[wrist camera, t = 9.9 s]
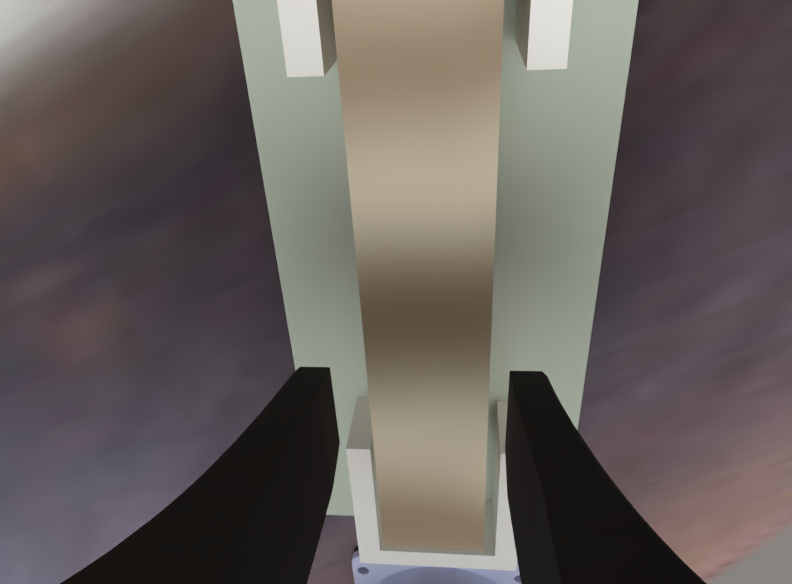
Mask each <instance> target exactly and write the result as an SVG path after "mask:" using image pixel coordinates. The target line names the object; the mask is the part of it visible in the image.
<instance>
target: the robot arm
mask: <svg viewBox="0 0 792 584" xmlns="http://www.w3.org/2000/svg"><path fill="white" fill-rule="evenodd" d="M339 445H340V440H339V432H338V425H337V417H336V410H335V402H334V395H333V387H332V380H331V372H330V367H299V368H298V369H297V370H296V371H295V372H294V373H293V374H292V375H291V377H290V378H289V379H288V380H287V382H286V383H285V384H284V385H283V387H282V388H281V389H280V390H279V391H278V393H277V394H276V395H275V396H274V398H273V399H272V400H271V401H270V402H269V404H268V405H267V406H266V407H265V408H264V409H263V411H262V412H261V413H260V414H259V415H258V416H257V418H256V419H255V420H254V421H253V422H252V423H251V424H250V425H249V427H248V428H247V429H246V430H245V431H244V432H243V433H242V434H241V436H240V437H239V438H238V439H237V440H236V441H235V442H234V443H233V444H232V445H231V446H230V447H229V448H228V449H227V450H226V451H225V452H224V453H223V454H222V455H221V457H220V458H219V459H218V460H217V461H216V462H215V463H214V464H213V465H212V466H211V467H210V468H209V469H208V470H207V471H206V472H205V473H204V474H203V475H202V476H201V477H199V478H198V479H197V480H196V481H195V482H194V483H193V484H192V485H191V486H190V487H189V488H188V489H187V490H185V491H184V492H183V493H182V494H181V495H180V496H179V497H178V498H176V499H175V500H174V501H173V502H172V503H171V504H169V505H168V506H167V507H166V508H165V509H164V510H162V511H161V512H160V513H159V514H158V515H156V516H155V517H154V518H152V519H151V520H150V521H149V522H147V523H146V524H145V525H143V526H142V527H141V528H139V529H138V530H137V531H136V532H134V533H133V534H132V535H130V536H129V537H128V538H126V539H125V540H124V541H122V542H121V543H120V544H118V545H117V546H116V547H114V548H113V549H112V550H110V551H109V552H107V553H106V554H104V555H103V556H102V557H100V558H99V559H97V560H96V561H94V562H93V563H91V564H90V565H88V566H87V567H85V568H84V569H82V570H81V571H79V572H78V573H76V574H75V575H73V576H71V577H70V578H68V579H67V580H65V581H64V582H62V583H60V584H307V581H308V577H309V574H310V570H311V567H312V563H313V559H314V556H315V552H316V549H317V545H318V542H319V538H320V534H321V531H322V527H323V524H324V520H325V516H326V513H327V509H328V505H329V502H330V498H331V494H332V490H333V485H334V478H335V472H336V466H337V459H338V452H339ZM505 458H506V479H507V497H508V503H509V510H510V516H511V523H512V529H513V535H514V542H515V548H516V554H517V568H516V571H509V570H489V569H470V568H450V567H430V566H411V565H391V564H372V563H360V557H359V550H358V551H355V552H354V553H353V557H352V569H353V576H354V584H706V583H705V582H704V581H703V580H702V579H701V578H700V577H699V576H698V575H697V574H696V573H694V572H693V571H692V570H691V569H690V568H689V567H688V566H687V565H686V564H685V563H684V562H683V561H682V560H681V559H680V558H679V557H678V556H677V555H676V554H675V553H674V552H673V551H672V549H671V548H670V547H669V546H668V545H667V544H666V543H665V542H664V541H663V540H662V539H661V538H660V537H659V536H658V535H657V534H656V532H655V531H654V530H653V529H652V528H651V527H650V526H649V525H648V523H647V522H646V521H645V520H644V519H643V518H642V517H641V516H640V514H639V513H638V512H637V511H636V510H635V508H634V507H633V506H632V505H631V504H630V502H629V501H628V500H627V499H626V497H625V496H624V495H623V494H622V492H621V491H620V490H619V489H618V487H617V486H616V485H615V483H614V482H613V481H612V479H611V478H610V477H609V476H608V474H607V473H606V472H605V470H604V469H603V467H602V466H601V465H600V463H599V462H598V460H597V459H596V458H595V456H594V455H593V453H592V452H591V450H590V449H589V447H588V446H587V444H586V443H585V441H584V440H583V438H582V437H581V435H580V434H579V432H578V431H577V429H576V428H575V426H574V424H573V423H572V421H571V419H570V418H569V416H568V414H567V413H566V411H565V409H564V408H563V406H562V404H561V402H560V400H559V399H558V397H557V395H556V393H555V391H554V389H553V387H552V385H551V383H550V381H549V379H548V377H547V375H546V374H544V373H543V372H542V371H510V373H509V390H508V407H507V423H506V440H505Z"/></svg>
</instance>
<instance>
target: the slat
mask: <svg viewBox="0 0 792 584" xmlns="http://www.w3.org/2000/svg"><path fill="white" fill-rule="evenodd" d="M332 9H333V20H334V30H335V41H336V51H337V62H338V73H339V83H340V94H341V105H342V115H343V126H344V136H345V147H346V158H347V168H348V179H349V190H350V200H351V211H352V221H353V232H354V243H355V253H356V264H357V275H358V285H359V296H360V306H361V317H362V328H363V338H364V349H365V360H366V370H367V381H368V392H369V402H370V413H371V423H372V434H373V445H374V455H375V466H376V477H377V487H378V498H379V508H380V519H381V530H382V540H383V546H393V547H414V548H435V549H456V550H477V551H483V537H484V511H485V485H486V459H487V433H488V407H489V381H490V355H491V329H492V303H493V277H494V251H495V225H496V199H497V172H498V146H499V120H500V94H501V68H502V42H503V16H504V0H332Z"/></svg>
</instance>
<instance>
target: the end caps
mask: <svg viewBox="0 0 792 584" xmlns="http://www.w3.org/2000/svg"><path fill="white" fill-rule="evenodd" d="M277 6H278V13H279V21H280V28H281V35H282V43H283V50H284V57H285V65H286V72H287V77H312V76H325V75H326V73H327V72H328V71H329V70H330V68H331V67H332V66H333V65H334V63H335V62H336V61H337V51H336V41H335V30H334V20H333V9H332V0H277ZM572 7H573V0H516V18H515V41H516V44H517V46H518V49H519V52H520V54H521V57H522V59H523V62H524V64H525V67H526V70H548V69H567V61H568V51H569V40H570V29H571V18H572ZM507 407H508V401H497V412H496V432H495V453H494V474H493V494H492V500H485V511H484V537H483V551H477V550H456V549H435V548H414V547H393V546H383V540H382V530H381V519H380V508H379V498H378V487H377V477H376V466H375V455H374V445H373V434H372V423H371V413H370V402H369V398H359V397H357V399H356V404H355V408H354V413H353V418H352V422H351V427H350V432H349V436H348V441H347V446H346V454H347V461H348V469H349V477H350V485H351V493H352V501H353V509H354V517H355V525H356V533H357V541H358V549H359V557H360V563H372V564H391V565H411V566H430V567H450V568H470V569H489V570H509V571H516V568H517V554H516V548H515V542H514V535H513V529H512V523H511V516H510V510H509V503H508V497H507V479H506V458H505V440H506V423H507Z"/></svg>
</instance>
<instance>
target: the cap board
mask: <svg viewBox="0 0 792 584" xmlns="http://www.w3.org/2000/svg"><path fill="white" fill-rule="evenodd" d="M638 1H639V0H573V7H572V18H571V29H570V40H569V51H568V61H567V69H548V70H526V67H525V64H524V62H523V59H522V57H521V54H520V52H519V49H518V46H517V44H516V41H515V18H516V0H504V16H503V42H502V68H501V94H500V120H499V146H498V172H497V199H496V225H495V251H494V277H493V303H492V329H491V355H490V381H489V407H488V433H487V459H486V485H485V500H492V494H493V474H494V453H495V432H496V412H497V401H508V390H509V373H510V371H542V372H543V373H544V374H546V375H547V377H548V379H549V381H550V383H551V385H552V387H553V389H554V391H555V393H556V395H557V397H558V399H559V400H560V402H561V404H562V406H563V408H564V409H565V411H566V413H567V414H568V416H569V418H570V419H571V421H572V423H573V424H574V426H575V428H576V429H577V430H578V423H579V416H580V409H581V402H582V395H583V388H584V381H585V374H586V367H587V360H588V353H589V345H590V338H591V331H592V324H593V317H594V310H595V303H596V296H597V289H598V282H599V275H600V268H601V261H602V254H603V247H604V240H605V233H606V226H607V219H608V212H609V205H610V198H611V191H612V184H613V177H614V170H615V163H616V156H617V149H618V142H619V135H620V128H621V120H622V113H623V106H624V99H625V92H626V85H627V78H628V71H629V64H630V57H631V50H632V43H633V36H634V29H635V22H636V15H637V8H638ZM233 5H234V11H235V17H236V23H237V29H238V35H239V41H240V46H241V52H242V58H243V64H244V70H245V76H246V82H247V88H248V94H249V100H250V105H251V111H252V117H253V123H254V129H255V135H256V141H257V147H258V153H259V158H260V164H261V170H262V176H263V182H264V188H265V194H266V200H267V206H268V211H269V217H270V223H271V229H272V235H273V241H274V247H275V253H276V259H277V265H278V270H279V276H280V282H281V288H282V294H283V300H284V306H285V312H286V318H287V323H288V329H289V335H290V341H291V347H292V353H293V359H294V365H295V371H296V370H297V369H298V368H299V367H330V372H331V380H332V387H333V395H334V402H335V410H336V417H337V425H338V432H339V440H340V445H339V452H338V459H337V466H336V472H335V478H334V485H333V490H332V494H331V498H330V502H329V505H328V509H327V513H326V515H345V516H354V509H353V501H352V493H351V485H350V477H349V469H348V461H347V454H346V446H347V441H348V436H349V432H350V427H351V422H352V418H353V413H354V408H355V404H356V399H357V397H359V398H369V392H368V381H367V370H366V360H365V349H364V338H363V328H362V317H361V306H360V296H359V285H358V275H357V264H356V253H355V243H354V232H353V221H352V211H351V200H350V190H349V179H348V168H347V158H346V147H345V136H344V126H343V115H342V105H341V94H340V83H339V73H338V62H337V61H336V62H335V63H334V65H333V66H332V67H331V68H330V70H329V71H328V72H327V73H326V75H325V76H312V77H287V72H286V65H285V57H284V50H283V43H282V35H281V28H280V21H279V13H278V6H277V0H233Z"/></svg>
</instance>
